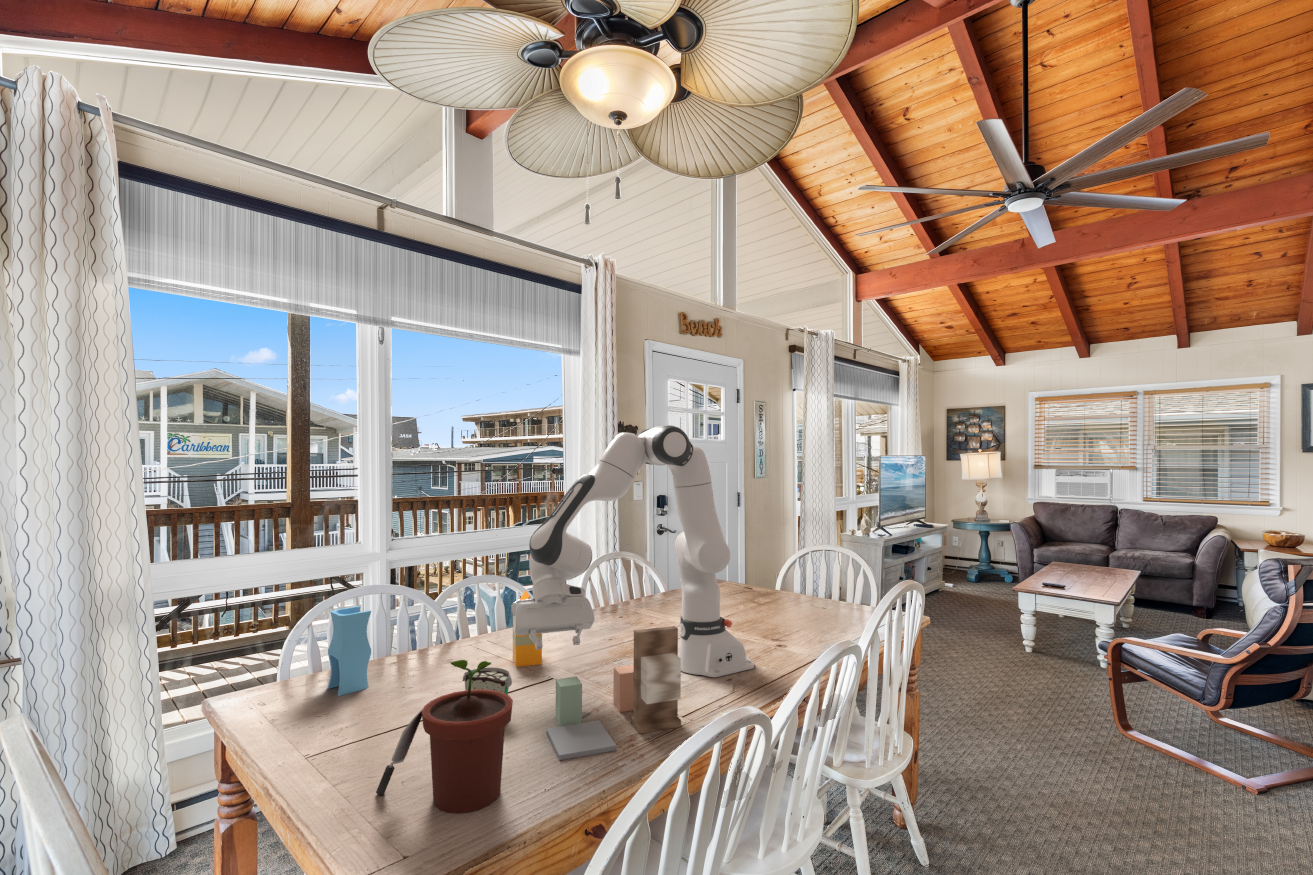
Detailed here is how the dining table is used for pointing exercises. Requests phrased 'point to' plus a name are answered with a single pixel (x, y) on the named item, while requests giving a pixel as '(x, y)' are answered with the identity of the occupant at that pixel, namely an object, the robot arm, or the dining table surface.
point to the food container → (489, 680)
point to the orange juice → (525, 646)
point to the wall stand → (656, 679)
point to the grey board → (580, 740)
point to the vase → (349, 650)
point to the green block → (568, 701)
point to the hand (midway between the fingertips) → (558, 645)
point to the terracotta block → (623, 688)
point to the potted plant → (461, 745)
